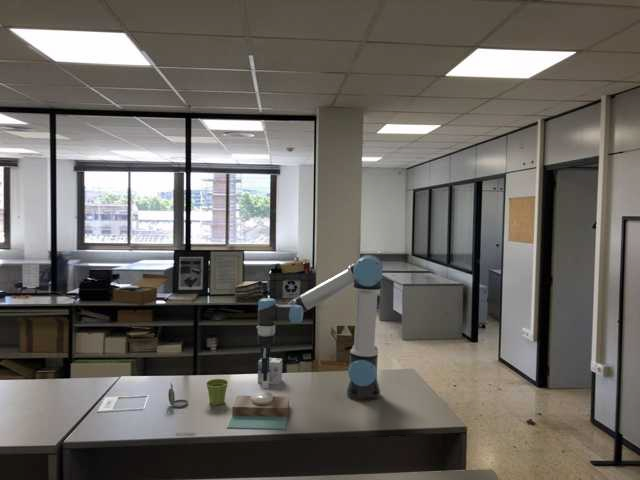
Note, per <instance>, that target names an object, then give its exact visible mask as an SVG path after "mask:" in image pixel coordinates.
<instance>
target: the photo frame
mask: <svg viewBox="0 0 640 480" xmlns="http://www.w3.org/2000/svg"><path fill="white" fill-rule="evenodd" d="M145 397H146V398H145ZM129 398H131V399H132V398H145V402H144V405H143V407H138V408H137V407H136V408H132V407H131V408H121V409H119V408H117V409H114V408H115V406H116V404H117V402H118V400H119V399H129ZM149 398H150V394H143V395H124V396H123V395H122V396H105V397H104V399H103V401H102V402H101V404H100V406H99V408H98V409H97V413H111V412H126V411H139V410H140V411H143V410H146V406H147V404H148V401H149Z"/></svg>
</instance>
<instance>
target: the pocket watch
mask: <svg viewBox="0 0 640 480" xmlns="http://www.w3.org/2000/svg"><path fill="white" fill-rule="evenodd" d="M169 384H170V388H169V389H168V393H167V394H168V395H167V397H168V402H169V404H170V405H171V406H173V407H175V408H183V407H186V406H187V405H188V404H189V401H188V400H187V399H177V400H176V397H175V396H176V395H175V391H174V389H173V387H174V386H173V384H172V383H171V382H170V383H169Z"/></svg>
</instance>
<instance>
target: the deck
mask: <svg viewBox="0 0 640 480" xmlns="http://www.w3.org/2000/svg"><path fill="white" fill-rule="evenodd" d="M289 409H290V396H279V395H277V396H274V395H273V401H272V402H271V403H269V404H263V405H260V404H254V403H252V402H251V395H239V394H238V395H236V398H235V399H234V401H233V405H232V410H231V411H232V413H231V417H232V416H268V417H287V418H288V415H289Z"/></svg>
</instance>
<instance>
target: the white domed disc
mask: <svg viewBox="0 0 640 480" xmlns="http://www.w3.org/2000/svg"><path fill="white" fill-rule="evenodd" d="M250 396H251V402H252V403H254V404H260V405H263V404H269V403H271V402H272V401H273V396H274V395H273V394H272V393H271V392H268V391H259V392H254V393H252V394H251V395H250Z"/></svg>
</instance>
